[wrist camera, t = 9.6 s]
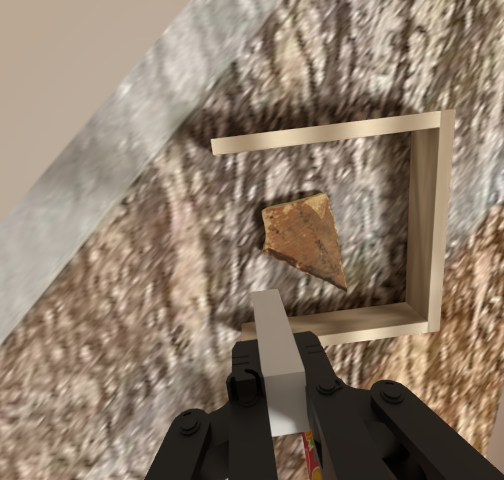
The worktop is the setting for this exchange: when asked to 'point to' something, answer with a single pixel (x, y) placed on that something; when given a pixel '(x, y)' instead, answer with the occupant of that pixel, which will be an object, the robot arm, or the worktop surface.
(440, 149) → the box
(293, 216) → the shard
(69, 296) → the worktop surface
